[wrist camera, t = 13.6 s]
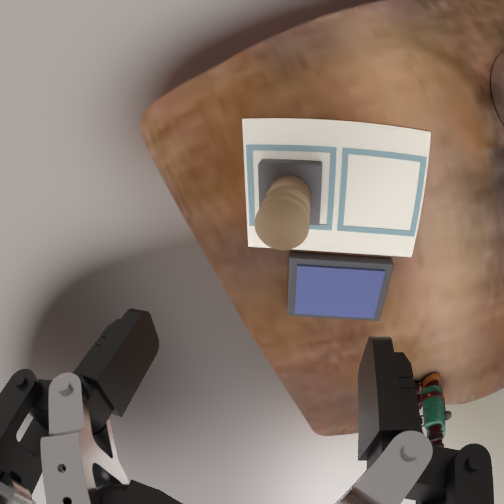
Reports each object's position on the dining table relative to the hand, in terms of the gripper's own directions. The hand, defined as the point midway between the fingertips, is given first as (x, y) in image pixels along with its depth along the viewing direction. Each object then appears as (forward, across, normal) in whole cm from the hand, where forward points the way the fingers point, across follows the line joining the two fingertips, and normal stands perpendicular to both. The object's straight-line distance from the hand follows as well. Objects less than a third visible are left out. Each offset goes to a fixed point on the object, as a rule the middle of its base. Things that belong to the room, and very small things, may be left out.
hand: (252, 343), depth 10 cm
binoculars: (+18, -20, +29) cm, 40 cm away
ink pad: (+18, -5, +10) cm, 21 cm away
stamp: (+18, 0, 0) cm, 18 cm away
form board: (+18, -4, 0) cm, 18 cm away
